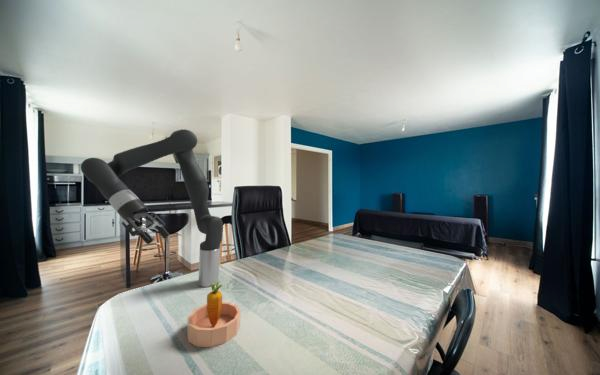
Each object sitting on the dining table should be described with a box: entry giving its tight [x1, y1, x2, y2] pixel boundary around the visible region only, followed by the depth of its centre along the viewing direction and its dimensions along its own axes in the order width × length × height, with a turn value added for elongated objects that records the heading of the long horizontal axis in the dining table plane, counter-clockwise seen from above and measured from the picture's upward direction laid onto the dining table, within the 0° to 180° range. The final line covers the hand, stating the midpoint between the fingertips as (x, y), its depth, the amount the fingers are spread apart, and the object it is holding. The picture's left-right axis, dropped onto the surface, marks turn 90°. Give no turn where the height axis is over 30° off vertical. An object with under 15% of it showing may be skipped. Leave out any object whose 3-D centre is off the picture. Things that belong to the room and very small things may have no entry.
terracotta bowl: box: [186, 301, 242, 348], centre depth 72 cm, size 16×16×5 cm
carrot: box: [206, 280, 223, 327], centre depth 72 cm, size 5×5×15 cm
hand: (159, 239), depth 76 cm, fingers open, 8 cm apart
